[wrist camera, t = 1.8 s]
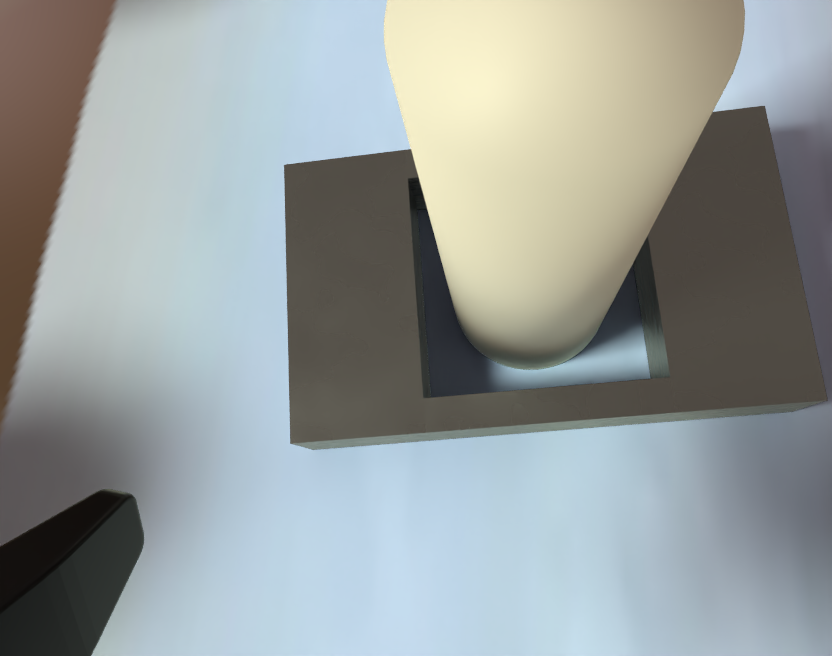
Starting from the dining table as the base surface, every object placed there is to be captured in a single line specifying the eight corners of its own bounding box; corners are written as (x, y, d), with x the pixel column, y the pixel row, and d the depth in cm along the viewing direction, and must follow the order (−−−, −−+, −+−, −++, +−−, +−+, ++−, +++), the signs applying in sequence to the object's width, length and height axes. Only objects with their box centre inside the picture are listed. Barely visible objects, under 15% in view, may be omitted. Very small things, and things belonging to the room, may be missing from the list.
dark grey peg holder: (313, 449, 23) (290, 443, 21) (305, 196, 25) (284, 164, 23) (791, 411, 22) (827, 400, 19) (738, 145, 24) (764, 105, 21)
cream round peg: (460, 376, 23) (393, 198, 10) (448, 234, 24) (375, -101, 11) (615, 362, 23) (777, 154, 9) (595, 217, 24) (710, -154, 10)
